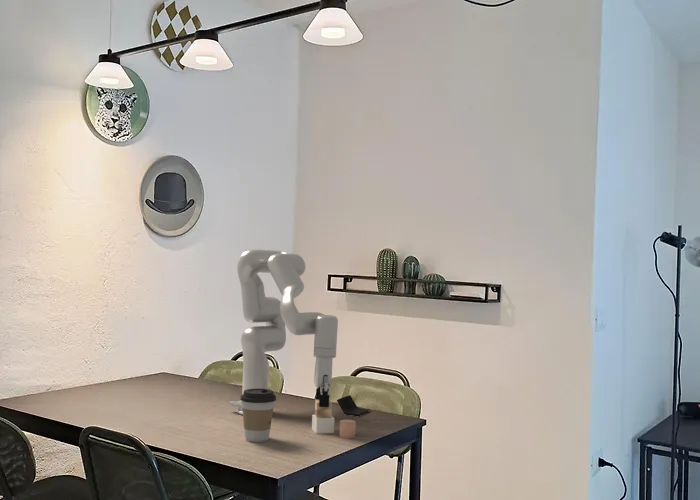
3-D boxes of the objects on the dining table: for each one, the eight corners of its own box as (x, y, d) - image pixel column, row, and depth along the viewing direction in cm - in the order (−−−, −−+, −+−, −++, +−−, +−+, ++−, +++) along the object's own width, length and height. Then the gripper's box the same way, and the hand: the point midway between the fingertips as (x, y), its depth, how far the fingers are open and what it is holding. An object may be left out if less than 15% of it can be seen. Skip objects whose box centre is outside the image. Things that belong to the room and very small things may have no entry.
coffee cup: (276, 443, 210) (278, 394, 210) (239, 444, 207) (241, 394, 208) (273, 434, 221) (274, 387, 221) (237, 434, 218) (239, 387, 219)
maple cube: (316, 417, 225) (316, 402, 225) (314, 414, 230) (315, 399, 230) (331, 417, 225) (331, 402, 226) (329, 414, 230) (330, 399, 231)
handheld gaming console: (363, 413, 250) (349, 389, 253) (348, 423, 251) (334, 400, 254) (372, 411, 261) (358, 389, 264) (357, 422, 262) (343, 399, 265)
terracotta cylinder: (340, 439, 218) (341, 423, 218) (338, 435, 223) (338, 419, 223) (356, 438, 218) (356, 423, 219) (353, 434, 223) (354, 419, 224)
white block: (316, 433, 224) (316, 418, 224) (311, 429, 229) (312, 414, 229) (333, 433, 225) (334, 417, 226) (329, 428, 231) (329, 413, 231)
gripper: (311, 348, 236) (308, 397, 236) (316, 356, 219) (313, 409, 219) (332, 348, 237) (329, 398, 237) (339, 356, 220) (336, 409, 220)
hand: (322, 403), depth 228 cm, fingers open, 9 cm apart
